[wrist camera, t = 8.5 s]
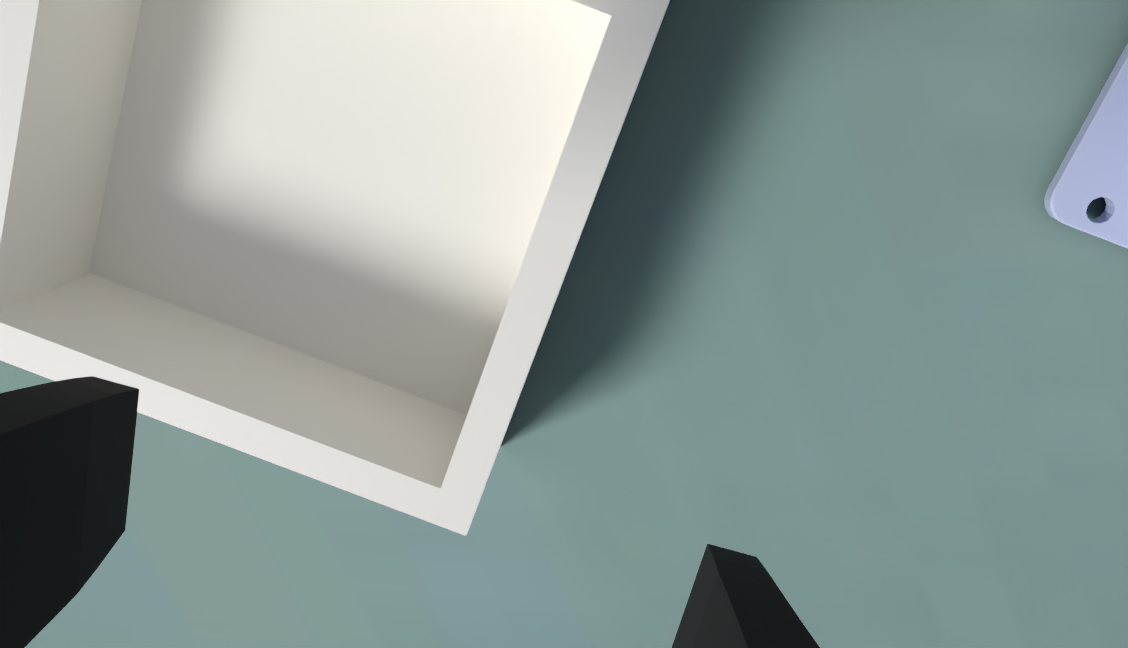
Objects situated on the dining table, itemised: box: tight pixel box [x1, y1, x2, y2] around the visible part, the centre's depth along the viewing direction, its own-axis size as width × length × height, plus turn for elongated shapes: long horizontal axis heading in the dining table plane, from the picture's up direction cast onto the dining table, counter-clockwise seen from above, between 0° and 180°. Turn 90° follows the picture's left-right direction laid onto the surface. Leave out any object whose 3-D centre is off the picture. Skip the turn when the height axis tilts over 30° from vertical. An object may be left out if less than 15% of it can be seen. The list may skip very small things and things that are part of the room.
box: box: [0, 0, 670, 536], centre depth 19 cm, size 11×11×4 cm
